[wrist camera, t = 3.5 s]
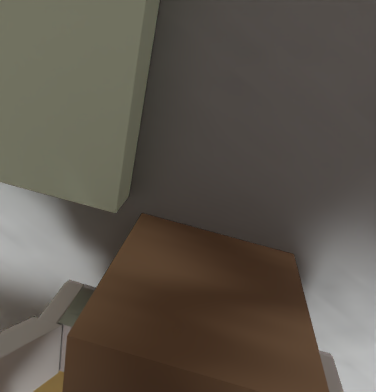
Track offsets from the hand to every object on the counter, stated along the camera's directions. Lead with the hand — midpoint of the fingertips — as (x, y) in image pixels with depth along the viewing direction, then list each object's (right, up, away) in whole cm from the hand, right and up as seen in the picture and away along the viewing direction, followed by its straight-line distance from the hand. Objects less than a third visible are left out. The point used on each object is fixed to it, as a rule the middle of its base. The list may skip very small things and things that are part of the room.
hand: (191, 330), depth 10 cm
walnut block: (0, +1, +1) cm, 2 cm away
